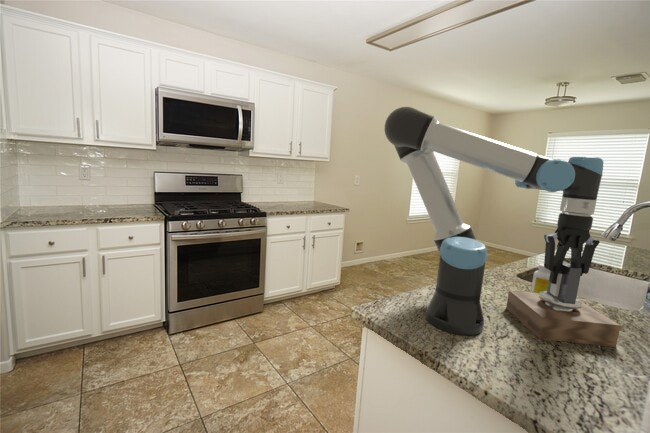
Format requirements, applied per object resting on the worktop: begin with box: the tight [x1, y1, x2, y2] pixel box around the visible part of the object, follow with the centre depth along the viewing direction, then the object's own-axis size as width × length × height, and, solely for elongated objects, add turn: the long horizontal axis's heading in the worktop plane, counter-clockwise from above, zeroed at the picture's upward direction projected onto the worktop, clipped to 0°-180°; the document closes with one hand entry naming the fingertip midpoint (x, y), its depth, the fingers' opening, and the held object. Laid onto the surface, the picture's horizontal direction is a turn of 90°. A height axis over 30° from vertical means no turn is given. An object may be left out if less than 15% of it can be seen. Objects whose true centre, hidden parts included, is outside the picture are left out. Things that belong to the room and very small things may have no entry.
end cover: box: [539, 260, 583, 312], centre depth 92 cm, size 10×10×16 cm
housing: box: [506, 290, 621, 348], centre depth 93 cm, size 19×19×6 cm
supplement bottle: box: [530, 263, 550, 293], centre depth 111 cm, size 7×7×13 cm
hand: (560, 295), depth 92 cm, fingers closed on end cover, 3 cm apart
